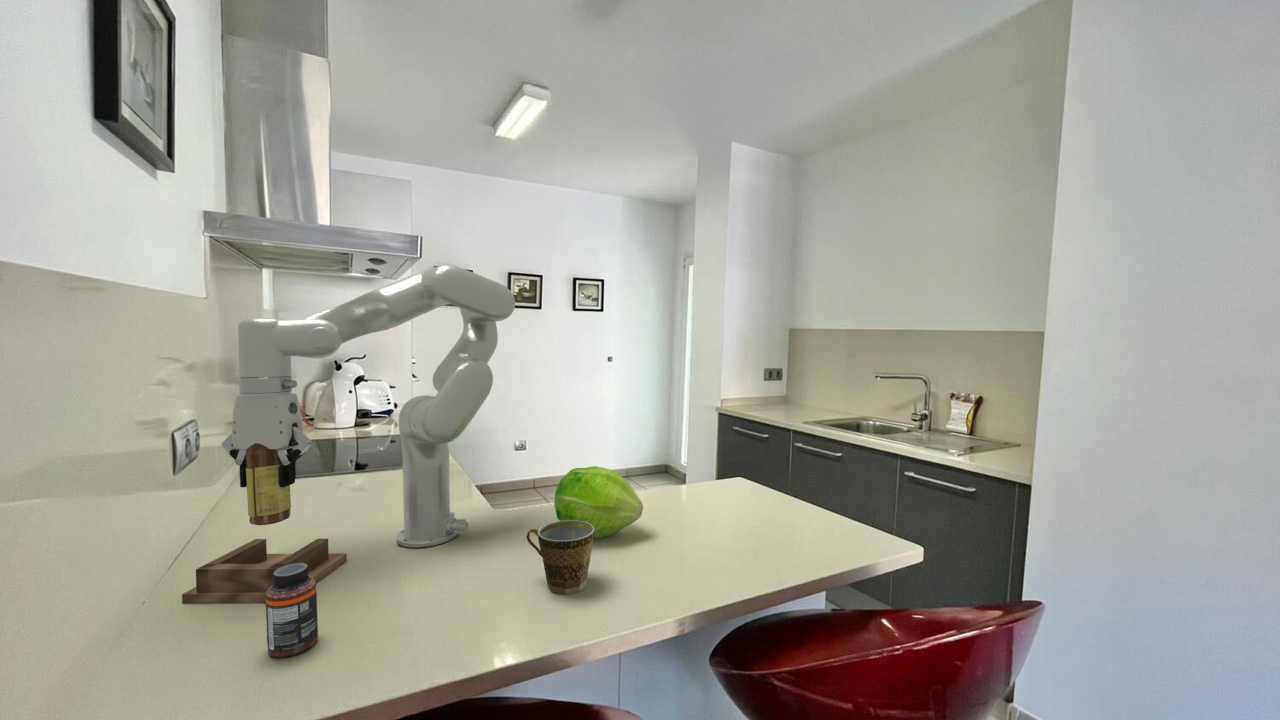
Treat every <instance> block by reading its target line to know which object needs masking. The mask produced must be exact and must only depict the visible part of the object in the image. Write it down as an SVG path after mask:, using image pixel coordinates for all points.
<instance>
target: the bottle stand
mask: <svg viewBox="0 0 1280 720" xmlns="http://www.w3.org/2000/svg"><path fill="white" fill-rule="evenodd" d="M267 551H268V549H267V538H255V539H253V540H251V541H249V542H247V543H245V544H243V545H241V546H239V547H237V548H235V549H233V550H231V551H229V552H228V553H225V554H223V555H221V556H219V557H217V558H216V559H213V560H211V561H210V562H207V563H205V564H203V565H202V566H201V565H200V566H199V567H197V568H196V569H195V584H196V585H195V587H193V588H191V589H189V590H187V591H186V592H183V593H182V594H181V603H182V604H266V592H267V590H268V589H269V588H270V587H271V586H272V585H273V584H274V582H273V574H274V572H275V571H276V570H277V569H278V568H280V567H283V566H286V565H289V564H295V563H304V564H306V565H307V566H308V576H309V577H312V578H313V579H315V581H316V584H317V583H319V582H320V581H321V580H322V579H324V578H325V577H327V576H328V575H329V574H331V573H332V572H334V571H335V570H337V569H339V568H340V567H341V566H342V565H343V564H345V563H346V562H347V561H348V560H347V559H348V556H347V555H348V553H346V552H345V553H344V552H343V553H342V552H341V553H340V552H338V553H333V552H332V553H329V538H317V539H315V540H313V541H312V542H310V543H307V545H304V546H303V547H301V548H300V549H298V550H296V551H295V552H293V553H268V552H267Z"/></svg>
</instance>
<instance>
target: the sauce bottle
mask: <svg viewBox="0 0 1280 720" xmlns="http://www.w3.org/2000/svg"><path fill="white" fill-rule="evenodd" d="M280 465H283V464H282V462H281V459H280V457H279V455H278V453H277V451H276V450H271V449H268V448H267V447H265V446H264V445H262V444H258V443H255V444H253V445H251V446H250V447H249V448H248V449H247V450H246V481H247V487H246V495H247V510H248V511H247V512H248V516H249V519H248V521H249V524H251V525H255V526H268V525H274V524H277V523H280V522H283V521H285V520H287V519H289V518H290V517H291V508H292V503H291V502H292V500H291V499H292V498H291V485H289V486H286V487H280V486H279V466H280Z"/></svg>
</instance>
